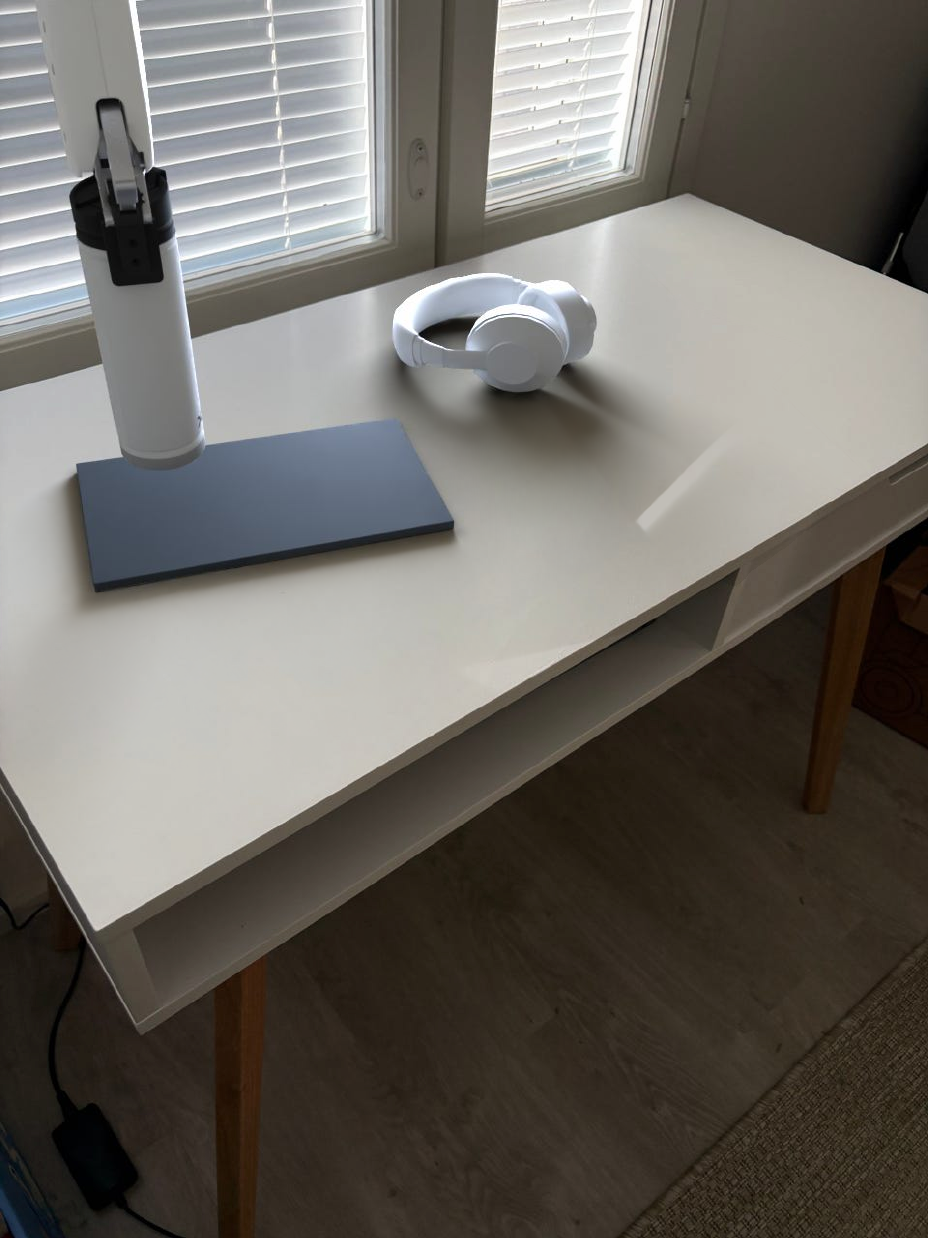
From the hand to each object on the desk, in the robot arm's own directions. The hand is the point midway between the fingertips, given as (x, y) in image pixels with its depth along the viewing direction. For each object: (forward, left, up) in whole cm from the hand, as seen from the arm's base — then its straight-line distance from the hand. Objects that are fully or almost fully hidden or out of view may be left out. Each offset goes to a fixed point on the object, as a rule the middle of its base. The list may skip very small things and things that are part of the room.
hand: (131, 257), depth 67 cm
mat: (+7, 0, -21) cm, 22 cm away
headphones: (+34, +18, -21) cm, 44 cm away
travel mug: (0, 0, -15) cm, 15 cm away
